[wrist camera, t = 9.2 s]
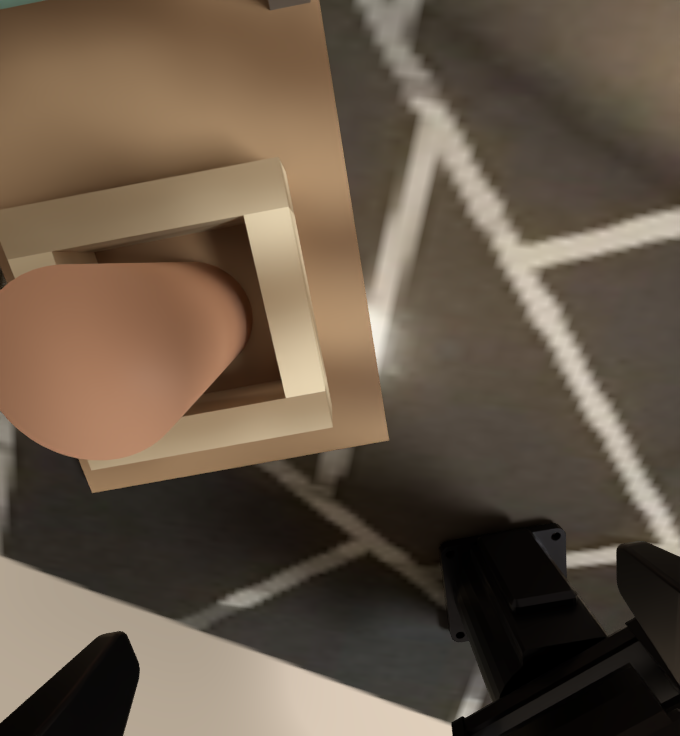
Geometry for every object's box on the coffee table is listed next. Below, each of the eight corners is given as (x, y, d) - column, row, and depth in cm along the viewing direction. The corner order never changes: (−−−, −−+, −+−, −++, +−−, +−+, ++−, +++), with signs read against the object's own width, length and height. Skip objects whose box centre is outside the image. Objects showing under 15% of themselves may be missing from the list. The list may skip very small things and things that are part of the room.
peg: (263, 358, 17) (210, 442, 9) (162, 376, 17) (25, 475, 9) (238, 252, 16) (153, 245, 8) (129, 272, 16) (-59, 285, 8)
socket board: (385, 431, 19) (420, 533, 12) (103, 481, 19) (-24, 609, 12) (301, -93, 14) (275, -468, 7) (-91, -14, 14) (-521, -291, 7)
